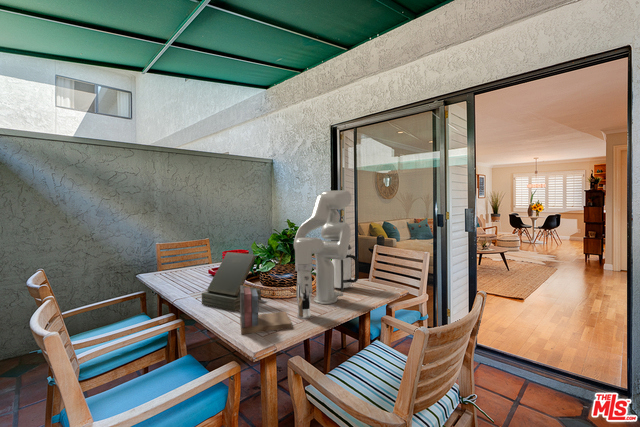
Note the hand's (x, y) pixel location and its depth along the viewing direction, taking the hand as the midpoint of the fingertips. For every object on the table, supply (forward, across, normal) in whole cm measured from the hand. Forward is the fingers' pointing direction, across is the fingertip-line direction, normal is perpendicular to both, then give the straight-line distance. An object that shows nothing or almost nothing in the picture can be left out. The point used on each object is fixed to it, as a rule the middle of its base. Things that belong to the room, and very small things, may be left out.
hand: (304, 306), depth 135 cm
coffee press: (+5, +36, -33) cm, 49 cm away
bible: (+5, +31, +31) cm, 44 cm away
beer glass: (+5, 0, 0) cm, 5 cm away
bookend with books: (+5, -4, +18) cm, 19 cm away
